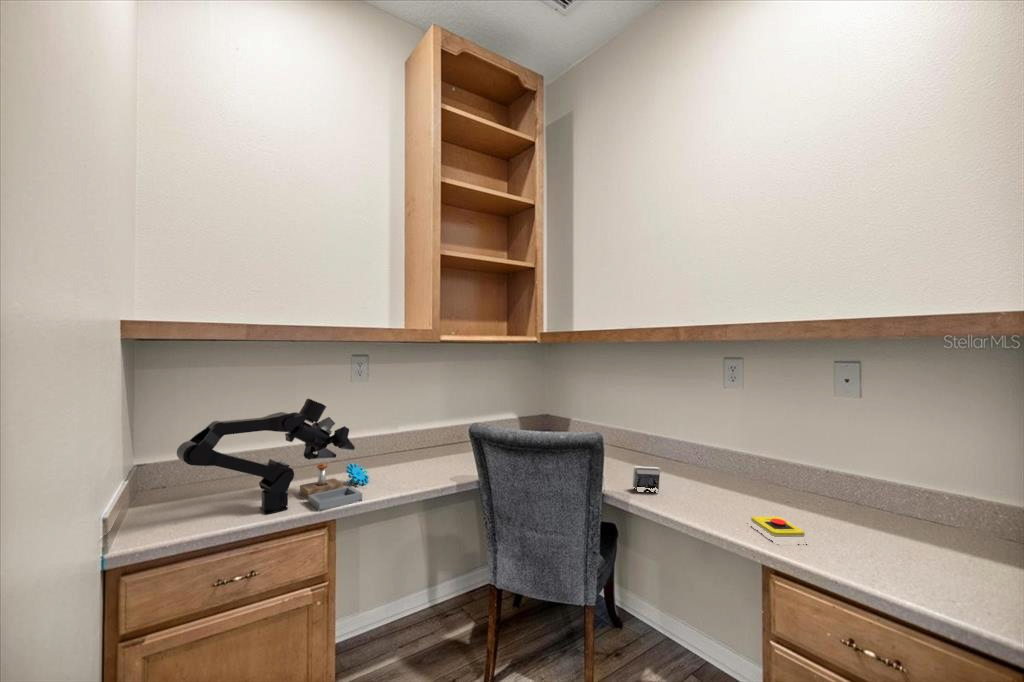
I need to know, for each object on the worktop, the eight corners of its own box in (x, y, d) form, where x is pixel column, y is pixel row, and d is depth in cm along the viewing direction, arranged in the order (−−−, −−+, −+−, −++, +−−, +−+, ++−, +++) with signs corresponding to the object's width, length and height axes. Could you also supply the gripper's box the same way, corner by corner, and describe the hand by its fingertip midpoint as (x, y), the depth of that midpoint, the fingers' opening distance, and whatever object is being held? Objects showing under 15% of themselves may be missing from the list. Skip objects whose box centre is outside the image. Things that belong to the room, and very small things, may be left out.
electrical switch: (658, 490, 161) (659, 465, 161) (661, 496, 156) (662, 470, 156) (632, 488, 163) (632, 464, 162) (634, 495, 158) (634, 469, 157)
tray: (319, 511, 138) (319, 503, 138) (308, 502, 145) (308, 495, 145) (362, 500, 147) (362, 493, 147) (349, 493, 155) (349, 486, 155)
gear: (358, 485, 158) (343, 463, 161) (347, 496, 159) (333, 473, 162) (376, 480, 169) (362, 460, 172) (366, 490, 169) (352, 470, 173)
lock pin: (318, 495, 152) (318, 466, 152) (314, 492, 155) (315, 464, 155) (328, 492, 155) (328, 464, 155) (324, 490, 157) (325, 462, 157)
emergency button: (776, 530, 117) (745, 509, 132) (776, 547, 117) (745, 524, 132) (810, 530, 118) (775, 509, 133) (810, 546, 118) (775, 524, 133)
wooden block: (307, 499, 148) (308, 490, 148) (299, 493, 153) (299, 485, 154) (343, 491, 156) (343, 483, 156) (334, 486, 162) (334, 478, 162)
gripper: (334, 404, 149) (367, 424, 160) (297, 422, 156) (331, 440, 166) (326, 433, 142) (362, 452, 152) (287, 451, 149) (324, 467, 159)
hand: (345, 452), depth 157 cm, fingers open, 9 cm apart
